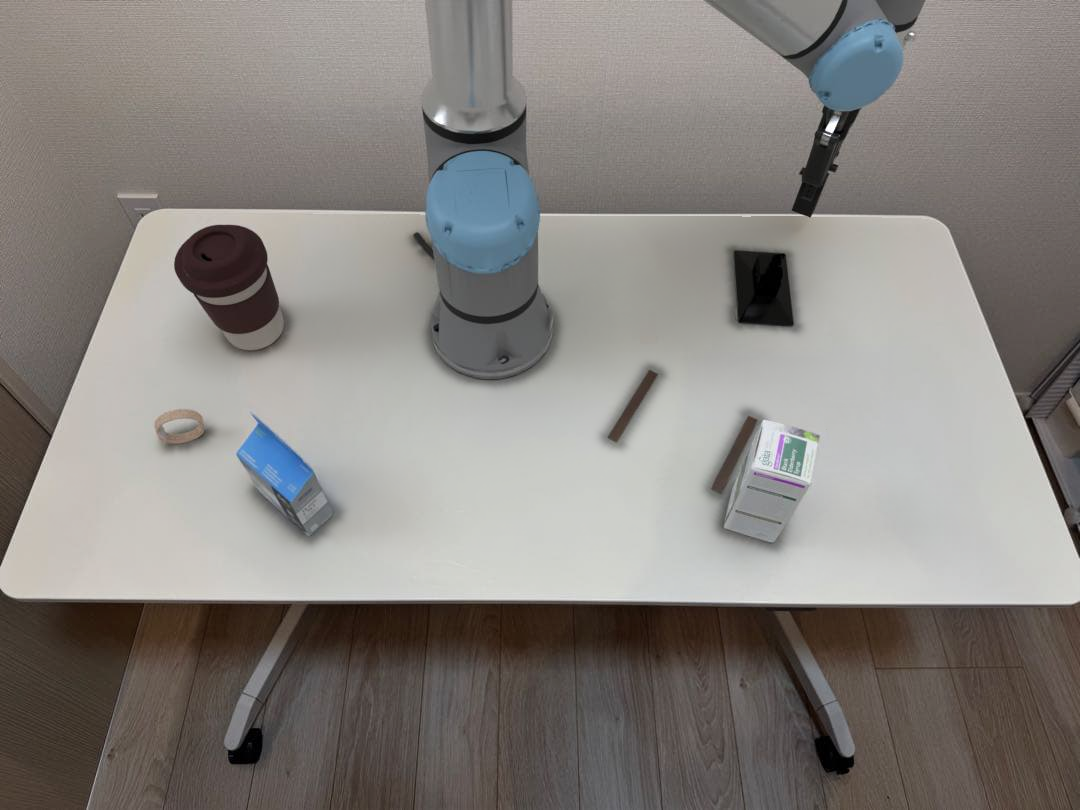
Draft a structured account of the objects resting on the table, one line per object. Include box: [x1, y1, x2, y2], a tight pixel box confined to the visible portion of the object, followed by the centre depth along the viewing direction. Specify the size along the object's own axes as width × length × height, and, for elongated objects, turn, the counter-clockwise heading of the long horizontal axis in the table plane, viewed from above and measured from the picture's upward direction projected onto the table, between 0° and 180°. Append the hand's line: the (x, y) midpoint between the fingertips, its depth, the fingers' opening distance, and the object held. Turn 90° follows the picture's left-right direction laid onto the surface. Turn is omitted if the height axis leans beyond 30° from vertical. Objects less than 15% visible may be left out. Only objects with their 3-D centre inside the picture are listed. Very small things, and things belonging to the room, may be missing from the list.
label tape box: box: [235, 411, 335, 537], centre depth 79 cm, size 9×4×12 cm, turn 50°
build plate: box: [733, 249, 795, 328], centre depth 99 cm, size 12×7×5 cm, turn 175°
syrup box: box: [722, 419, 821, 544], centre depth 78 cm, size 6×6×14 cm
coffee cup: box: [173, 224, 285, 351], centre depth 91 cm, size 10×10×15 cm
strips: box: [607, 369, 759, 495], centre depth 89 cm, size 14×11×1 cm
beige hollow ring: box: [154, 408, 205, 445], centre depth 87 cm, size 3×5×5 cm, turn 111°
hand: (802, 210), depth 104 cm, fingers closed
